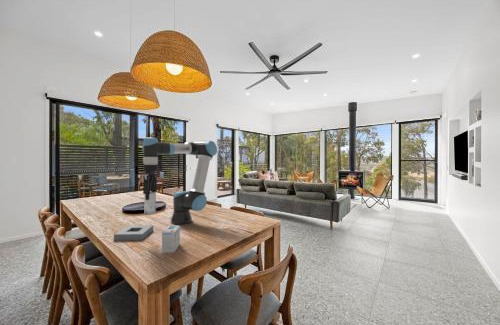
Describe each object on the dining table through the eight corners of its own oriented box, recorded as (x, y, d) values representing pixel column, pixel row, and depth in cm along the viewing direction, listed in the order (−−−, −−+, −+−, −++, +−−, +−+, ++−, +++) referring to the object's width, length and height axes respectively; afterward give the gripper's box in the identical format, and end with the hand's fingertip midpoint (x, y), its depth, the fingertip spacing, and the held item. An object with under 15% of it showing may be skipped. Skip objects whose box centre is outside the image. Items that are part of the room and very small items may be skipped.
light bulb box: (167, 244, 116) (168, 225, 116) (180, 244, 117) (180, 225, 117) (161, 253, 106) (161, 232, 106) (174, 252, 106) (175, 231, 106)
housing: (153, 231, 137) (153, 225, 137) (142, 240, 121) (142, 234, 121) (128, 231, 136) (128, 225, 136) (113, 241, 120) (113, 234, 120)
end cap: (157, 211, 123) (157, 191, 123) (153, 214, 117) (153, 193, 117) (147, 211, 123) (147, 191, 123) (142, 214, 117) (142, 193, 117)
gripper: (150, 163, 129) (150, 200, 129) (135, 164, 110) (135, 207, 110) (163, 164, 129) (162, 200, 130) (150, 164, 110) (150, 207, 111)
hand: (150, 204), depth 120 cm, fingers closed on end cap, 6 cm apart
